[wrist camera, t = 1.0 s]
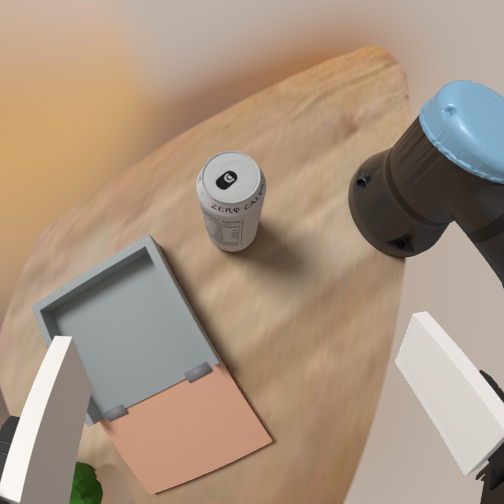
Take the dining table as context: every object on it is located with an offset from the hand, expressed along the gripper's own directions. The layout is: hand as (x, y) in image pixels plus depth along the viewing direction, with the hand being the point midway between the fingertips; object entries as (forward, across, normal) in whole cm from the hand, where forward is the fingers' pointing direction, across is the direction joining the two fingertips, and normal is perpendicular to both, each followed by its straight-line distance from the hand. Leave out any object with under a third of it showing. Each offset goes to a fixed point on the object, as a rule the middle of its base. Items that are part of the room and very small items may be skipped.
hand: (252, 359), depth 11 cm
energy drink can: (+29, +2, -7) cm, 30 cm away
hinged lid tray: (+19, -9, -21) cm, 29 cm away
